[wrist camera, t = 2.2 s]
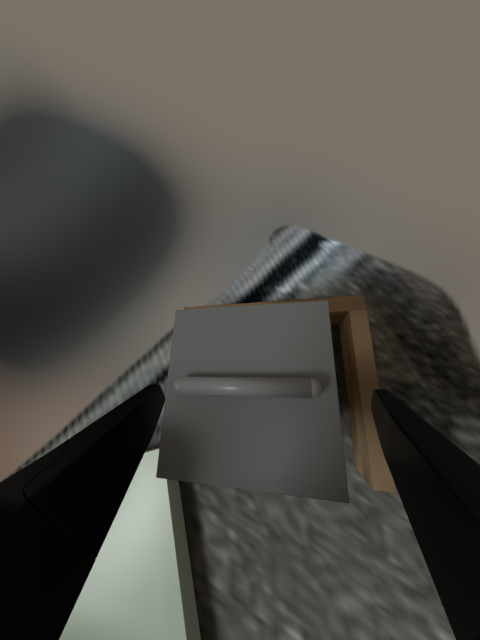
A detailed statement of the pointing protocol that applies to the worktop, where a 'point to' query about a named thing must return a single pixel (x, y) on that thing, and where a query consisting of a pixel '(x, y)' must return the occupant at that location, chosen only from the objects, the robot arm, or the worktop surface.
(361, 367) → the bay
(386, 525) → the worktop surface
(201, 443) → the grey drawer with handle
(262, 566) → the worktop surface
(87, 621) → the tray
